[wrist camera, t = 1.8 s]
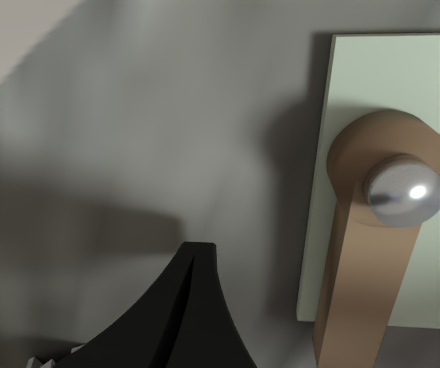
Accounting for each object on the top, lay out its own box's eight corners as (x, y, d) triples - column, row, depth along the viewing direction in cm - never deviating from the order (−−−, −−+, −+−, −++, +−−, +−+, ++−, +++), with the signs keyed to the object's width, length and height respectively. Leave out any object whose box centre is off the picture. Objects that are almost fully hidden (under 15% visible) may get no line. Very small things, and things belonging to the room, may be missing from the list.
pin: (440, 154, 10) (457, 169, 9) (421, 211, 11) (434, 228, 10) (369, 153, 10) (379, 167, 9) (357, 209, 11) (365, 226, 10)
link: (334, 109, 11) (345, 126, 10) (449, 110, 11) (477, 127, 9) (300, 337, 17) (304, 368, 16) (373, 341, 17) (384, 373, 15)
